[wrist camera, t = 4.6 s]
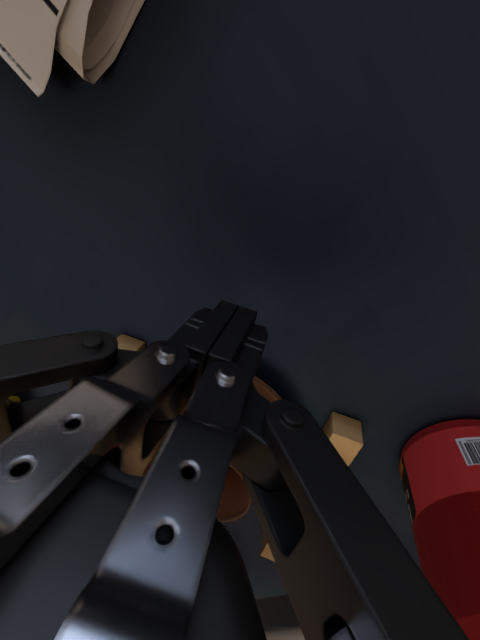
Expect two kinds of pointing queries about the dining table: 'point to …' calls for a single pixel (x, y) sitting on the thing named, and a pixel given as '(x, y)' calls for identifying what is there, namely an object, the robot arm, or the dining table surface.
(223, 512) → the cup and saucer
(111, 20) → the newspaper
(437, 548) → the canned food
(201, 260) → the dining table surface
